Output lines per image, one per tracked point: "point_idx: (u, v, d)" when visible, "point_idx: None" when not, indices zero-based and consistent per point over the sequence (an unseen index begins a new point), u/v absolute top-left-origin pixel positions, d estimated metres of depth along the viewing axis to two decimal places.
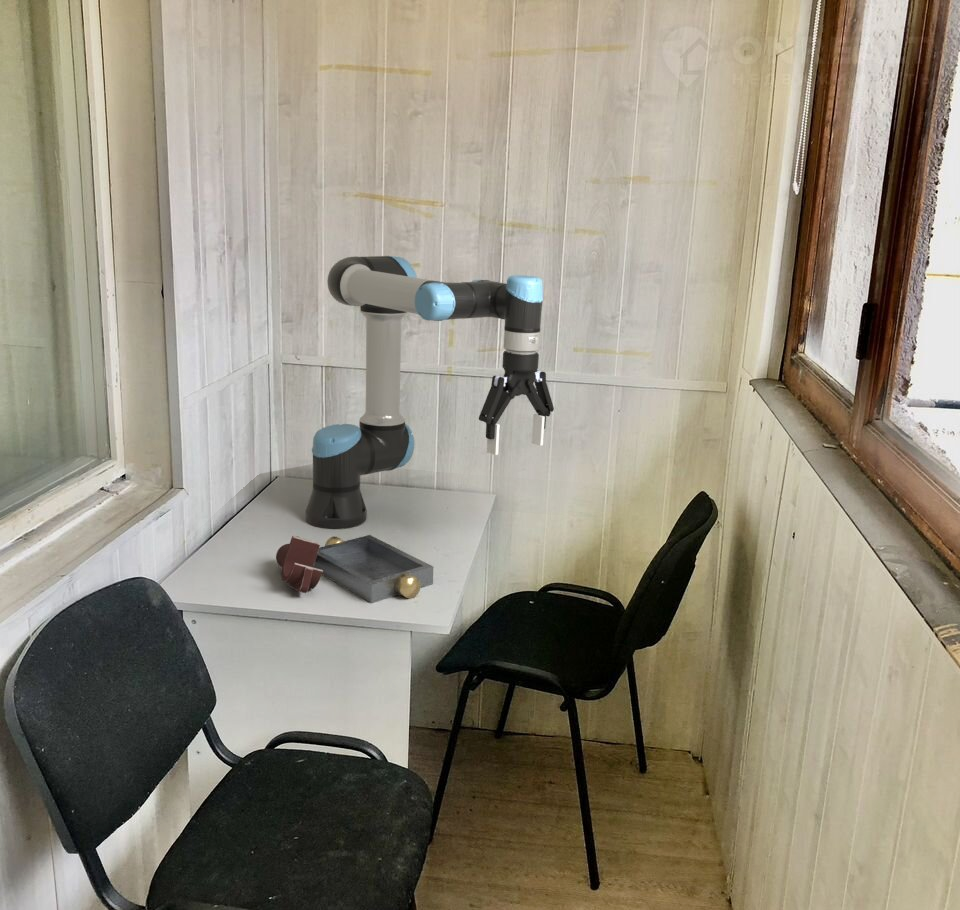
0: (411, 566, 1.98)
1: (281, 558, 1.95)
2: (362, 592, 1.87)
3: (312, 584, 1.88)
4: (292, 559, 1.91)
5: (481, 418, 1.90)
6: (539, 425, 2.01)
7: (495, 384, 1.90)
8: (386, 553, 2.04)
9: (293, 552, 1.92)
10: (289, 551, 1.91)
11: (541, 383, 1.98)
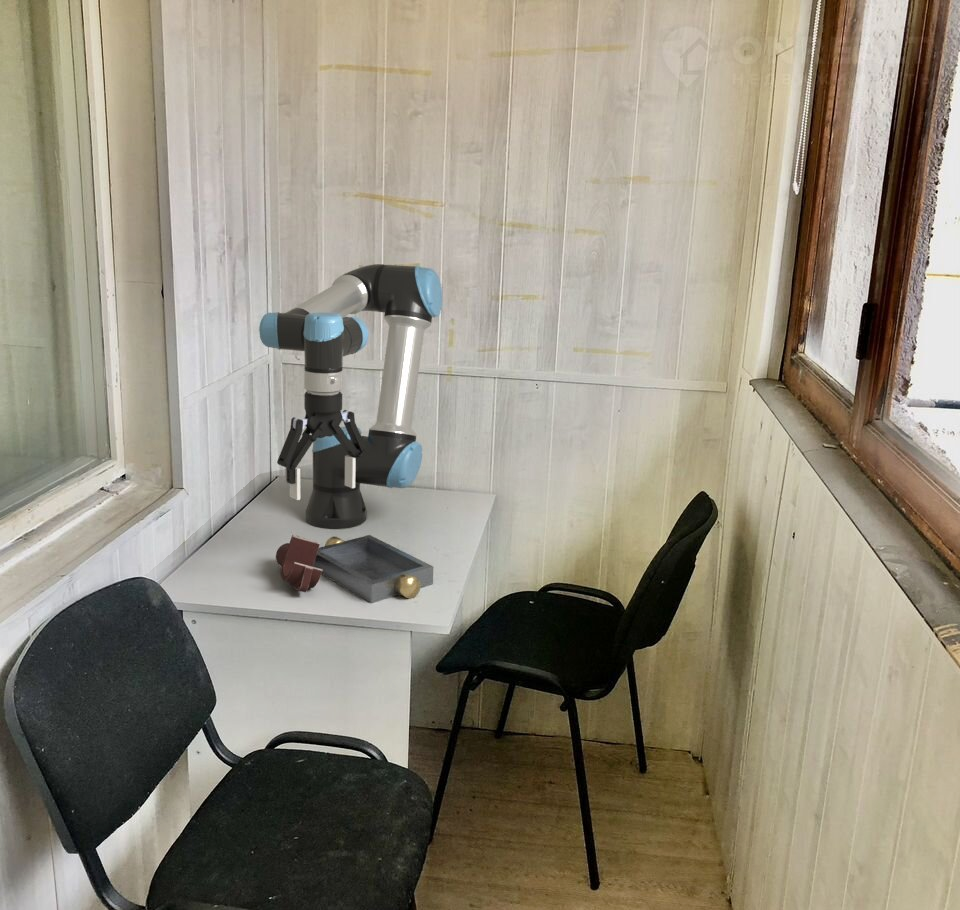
0: (411, 566, 1.98)
1: (281, 557, 1.95)
2: (362, 592, 1.87)
3: (312, 583, 1.88)
4: (292, 558, 1.92)
5: (279, 462, 1.81)
6: (350, 467, 1.92)
7: (294, 426, 1.81)
8: (386, 553, 2.04)
9: (293, 551, 1.92)
10: (289, 550, 1.91)
11: (349, 423, 1.89)
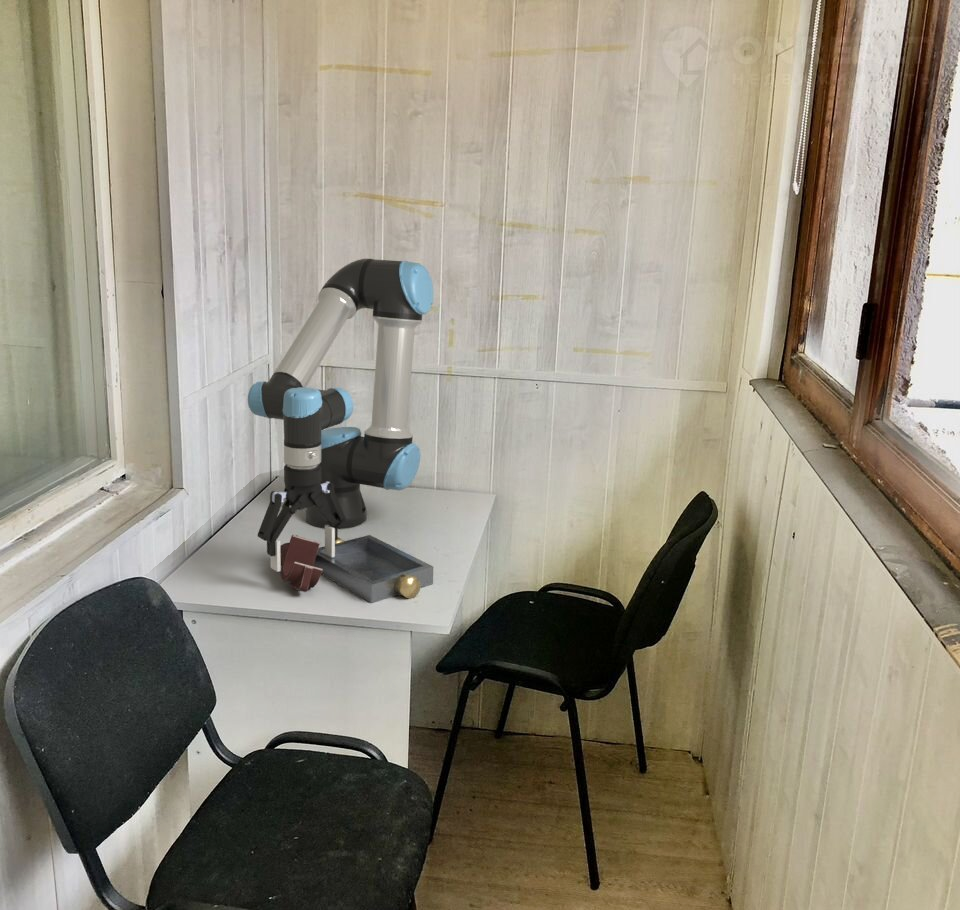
0: (411, 566, 1.98)
1: (281, 557, 1.95)
2: (362, 592, 1.87)
3: (312, 583, 1.88)
4: (292, 558, 1.92)
5: (259, 536, 1.85)
6: (330, 537, 1.95)
7: (273, 500, 1.84)
8: (386, 553, 2.04)
9: (293, 551, 1.92)
10: (289, 550, 1.92)
11: (329, 494, 1.92)
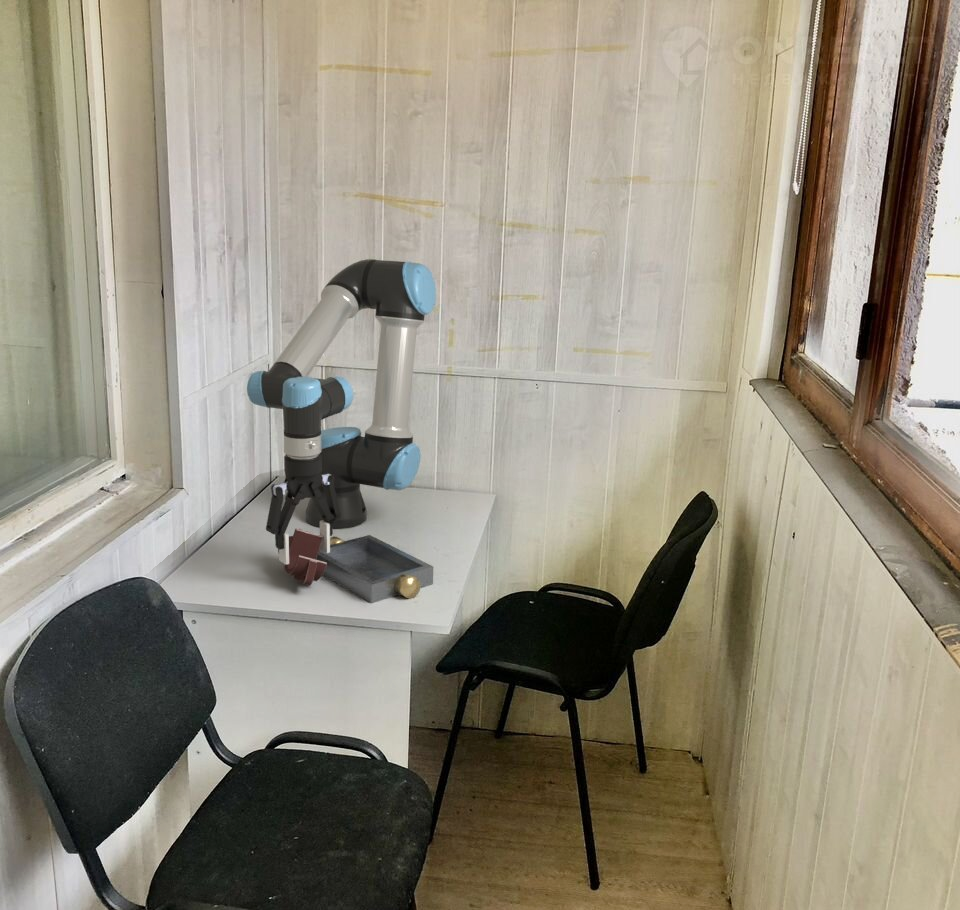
0: (411, 566, 1.98)
1: None
2: (362, 592, 1.87)
3: (316, 576, 1.89)
4: (295, 552, 1.92)
5: (268, 530, 1.86)
6: (324, 532, 1.94)
7: (274, 494, 1.84)
8: (386, 553, 2.04)
9: (296, 545, 1.92)
10: (292, 544, 1.92)
11: (328, 486, 1.92)
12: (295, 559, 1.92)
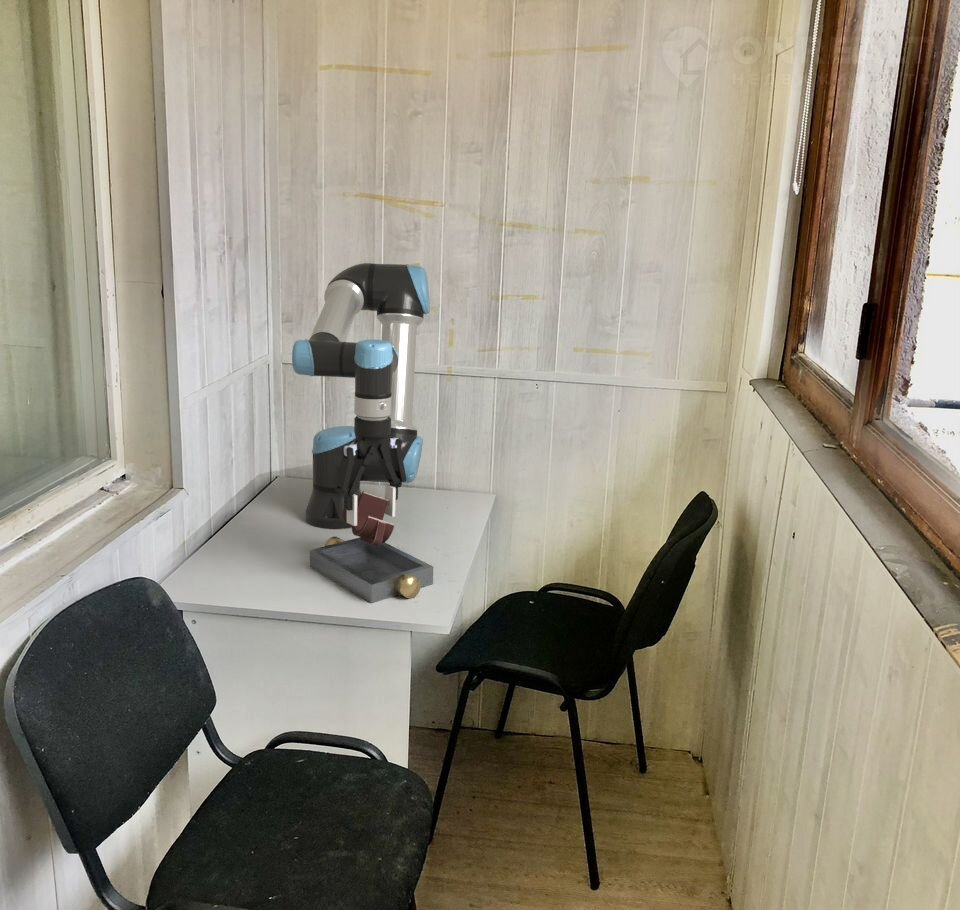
0: (411, 566, 1.98)
1: None
2: (362, 592, 1.87)
3: (384, 538, 1.90)
4: (362, 514, 1.94)
5: (337, 490, 1.88)
6: (390, 496, 1.96)
7: (345, 454, 1.86)
8: (386, 553, 2.04)
9: (363, 507, 1.94)
10: (359, 506, 1.94)
11: (395, 450, 1.94)
12: (362, 522, 1.94)
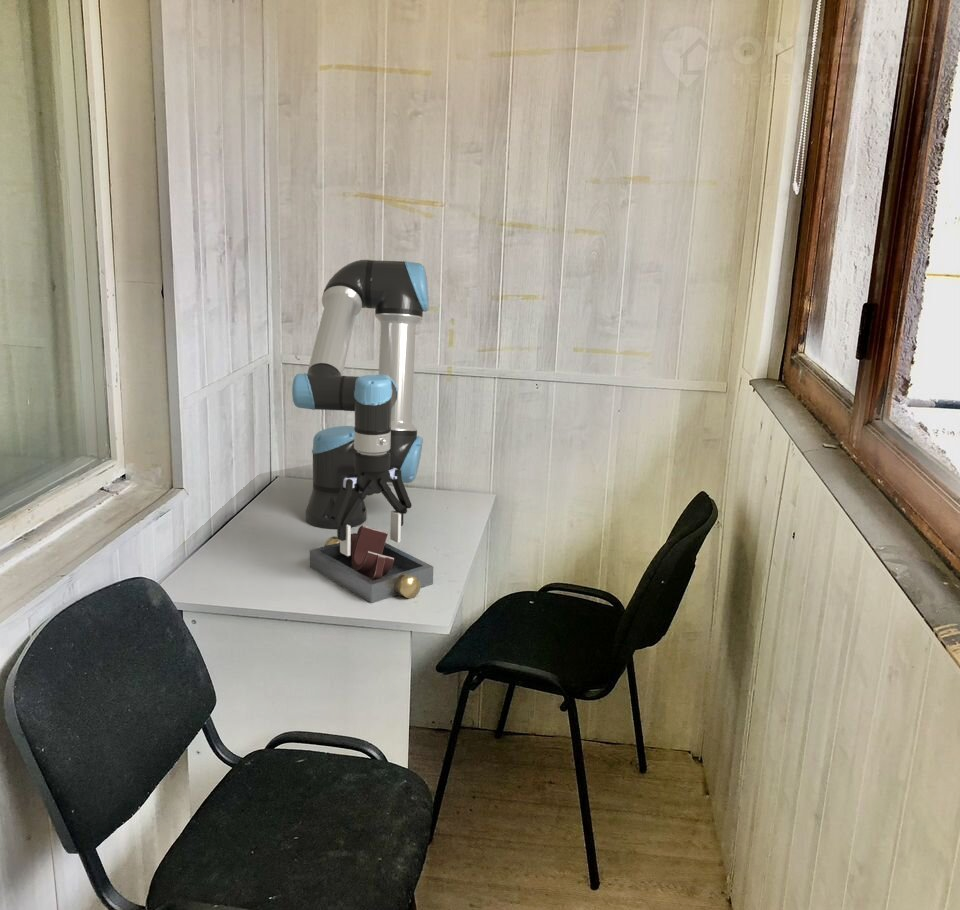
0: (411, 566, 1.98)
1: None
2: (362, 592, 1.87)
3: (384, 572, 1.93)
4: (362, 548, 1.96)
5: (331, 520, 1.88)
6: (396, 522, 1.99)
7: (344, 486, 1.88)
8: (386, 553, 2.04)
9: (363, 541, 1.96)
10: (359, 540, 1.96)
11: (396, 480, 1.96)
12: (362, 555, 1.96)
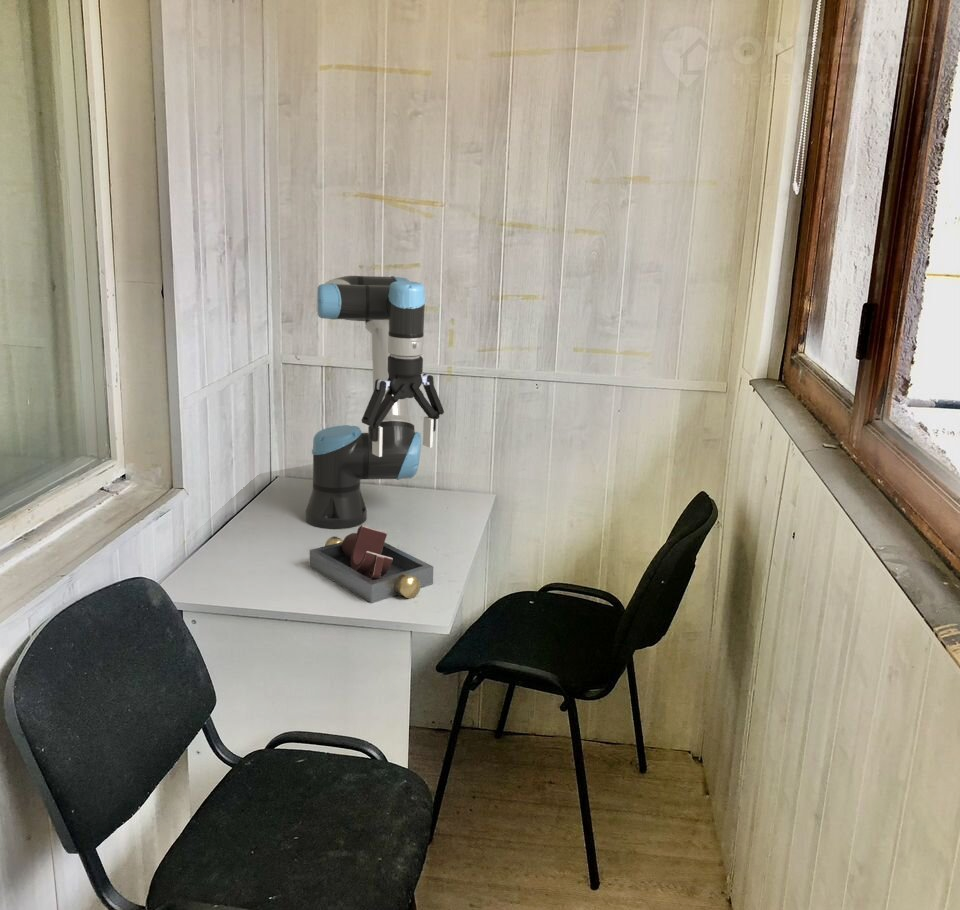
0: (411, 566, 1.98)
1: (349, 547, 2.00)
2: (362, 592, 1.87)
3: (382, 572, 1.93)
4: (361, 548, 1.96)
5: (363, 421, 1.94)
6: (428, 427, 2.05)
7: (377, 388, 1.94)
8: (386, 553, 2.04)
9: (362, 541, 1.96)
10: (358, 540, 1.96)
11: (428, 386, 2.01)
12: (361, 555, 1.96)
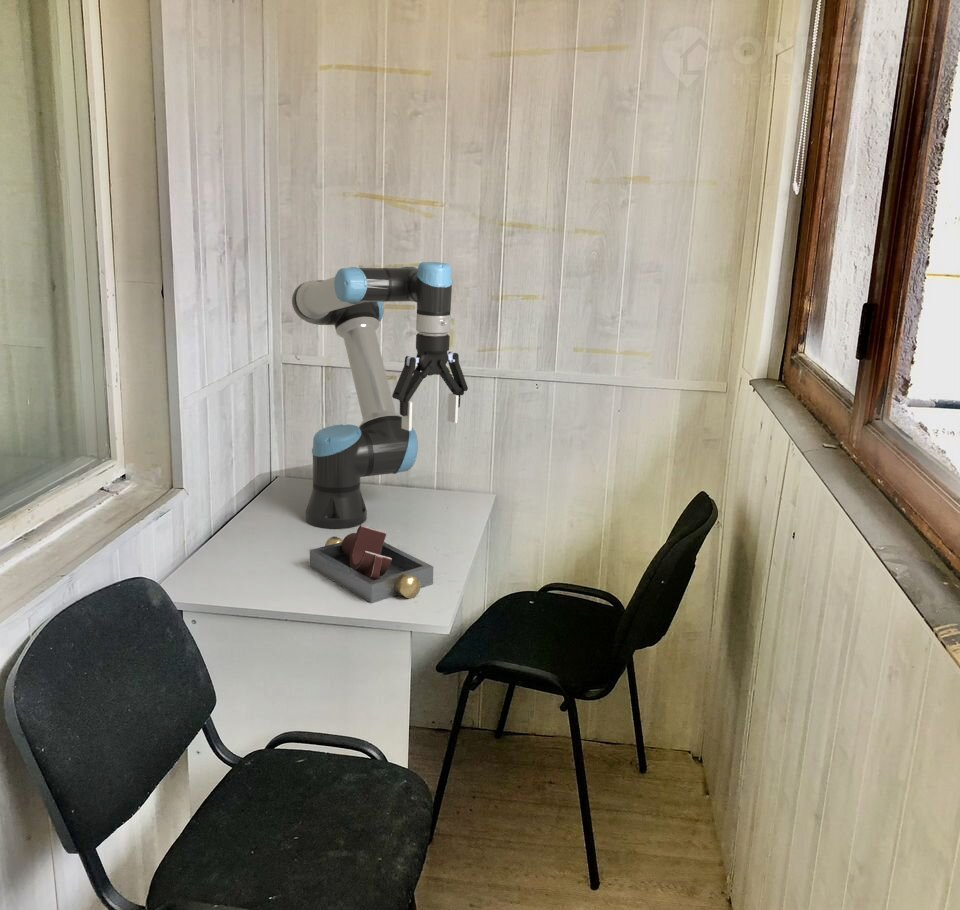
0: (411, 566, 1.98)
1: (348, 547, 2.00)
2: (362, 592, 1.87)
3: (381, 572, 1.93)
4: (360, 547, 1.96)
5: (394, 396, 2.02)
6: (453, 403, 2.13)
7: (407, 364, 2.02)
8: (386, 553, 2.04)
9: (361, 541, 1.96)
10: (357, 540, 1.96)
11: (454, 363, 2.10)
12: (360, 555, 1.96)
